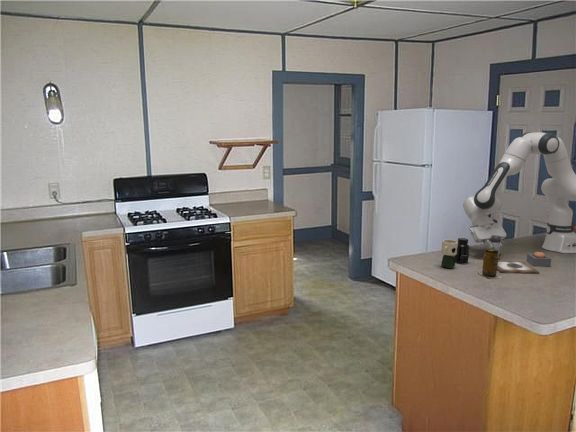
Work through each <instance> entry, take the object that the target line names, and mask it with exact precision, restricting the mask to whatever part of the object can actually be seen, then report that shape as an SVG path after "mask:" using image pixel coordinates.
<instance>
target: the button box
mask: <svg viewBox="0 0 576 432" xmlns="http://www.w3.org/2000/svg"><path fill="white" fill-rule="evenodd" d="M525 263H527V264H529V265H530V266H532V267H544V268H546V267H549V268H550V267H551V266H552V258H551V257H549V256H548V255H546V254H544V258H536V257H534V253H527V254H526V261H525Z"/></svg>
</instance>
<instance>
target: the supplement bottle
mask: <svg viewBox="0 0 576 432" xmlns="http://www.w3.org/2000/svg"><path fill="white" fill-rule="evenodd" d="M457 242H458V247H457V254H456V255H454V259H455V264H460V265H467V264H468V263H469V258H470V257H469V256H470V248H471V247H470V245H469V239H468V238H464V237H459V238H457Z"/></svg>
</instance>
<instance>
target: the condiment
mask: <svg viewBox="0 0 576 432" xmlns="http://www.w3.org/2000/svg"><path fill="white" fill-rule="evenodd" d="M497 255H498V250H496V249H490V248H486V249H485V251H484V254H483V264H482V271H481V272H478V275H481V276H483V277H485V278H487V279H503V278H504V277H503V276H501V275H499V274H498V273H497V272H498V271H497V265H498V261H499V260H498V256H497Z"/></svg>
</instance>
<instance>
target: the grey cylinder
mask: <svg viewBox="0 0 576 432" xmlns="http://www.w3.org/2000/svg"><path fill="white" fill-rule="evenodd" d="M500 242H501V243H502V239H501V236H497V235H492V236H491V241H490V243H491V244H493V246H494V248H491V249H496V250H498V255H497V256H498V261H500V260H499V259H500V251H501V250H500V249H501V247H500Z"/></svg>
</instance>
